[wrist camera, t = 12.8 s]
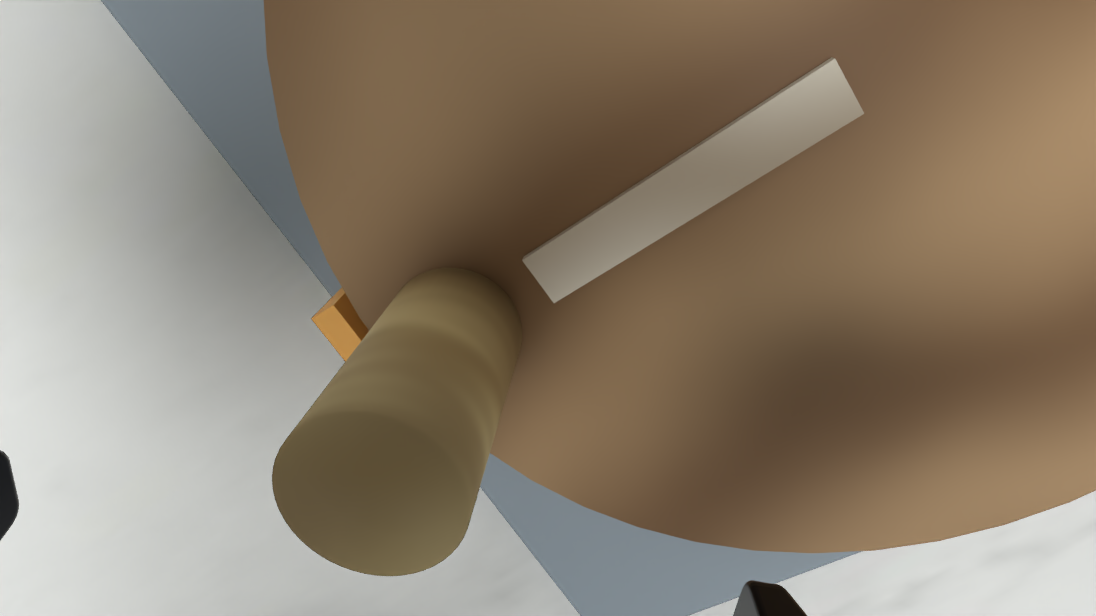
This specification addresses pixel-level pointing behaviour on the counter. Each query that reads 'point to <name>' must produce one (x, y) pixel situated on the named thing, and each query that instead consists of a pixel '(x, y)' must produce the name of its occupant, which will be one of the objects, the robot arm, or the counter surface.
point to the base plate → (262, 165)
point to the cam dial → (695, 265)
